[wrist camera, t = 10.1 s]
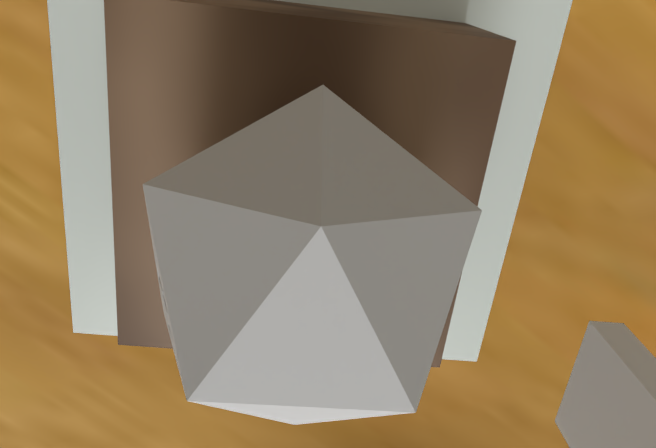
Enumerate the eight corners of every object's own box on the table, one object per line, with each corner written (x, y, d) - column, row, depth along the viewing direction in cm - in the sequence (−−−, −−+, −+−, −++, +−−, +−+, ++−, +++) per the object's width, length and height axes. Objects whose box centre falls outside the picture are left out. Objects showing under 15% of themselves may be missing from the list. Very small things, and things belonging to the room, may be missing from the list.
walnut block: (156, 266, 26) (118, 344, 21) (154, -14, 22) (103, -8, 16) (413, 287, 27) (439, 367, 22) (465, 23, 23) (516, 40, 17)
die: (286, 12, 17) (-1, 176, 11) (567, 121, 14) (397, 419, 8) (275, 210, 23) (83, 391, 17) (475, 315, 20) (334, 576, 14)
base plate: (80, 320, 29) (73, 332, 28) (47, -148, 21) (35, -154, 20) (471, 349, 30) (476, 361, 29) (581, -77, 22) (593, -79, 21)
